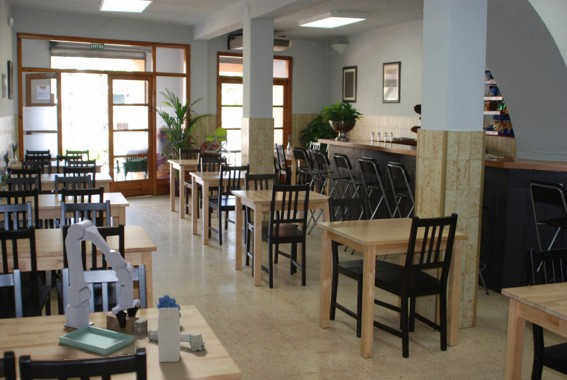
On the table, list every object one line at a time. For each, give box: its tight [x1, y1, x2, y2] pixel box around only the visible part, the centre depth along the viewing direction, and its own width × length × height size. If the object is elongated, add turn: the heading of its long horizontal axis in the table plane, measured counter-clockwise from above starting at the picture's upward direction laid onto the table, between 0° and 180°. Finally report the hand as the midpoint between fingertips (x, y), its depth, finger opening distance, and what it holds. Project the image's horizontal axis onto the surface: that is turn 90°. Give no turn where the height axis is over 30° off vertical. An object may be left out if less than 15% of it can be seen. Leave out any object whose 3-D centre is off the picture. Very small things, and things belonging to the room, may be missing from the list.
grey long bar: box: [147, 329, 206, 352], centre depth 245 cm, size 5×7×25 cm
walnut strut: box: [105, 312, 149, 336], centre depth 260 cm, size 18×5×5 cm, turn 62°
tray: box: [58, 325, 135, 356], centre depth 246 cm, size 24×15×2 cm, turn 62°
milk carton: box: [157, 308, 181, 363], centre depth 230 cm, size 7×7×19 cm
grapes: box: [156, 294, 182, 318], centre depth 267 cm, size 12×7×12 cm, turn 66°
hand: (126, 325), depth 260 cm, fingers closed on walnut strut, 4 cm apart
